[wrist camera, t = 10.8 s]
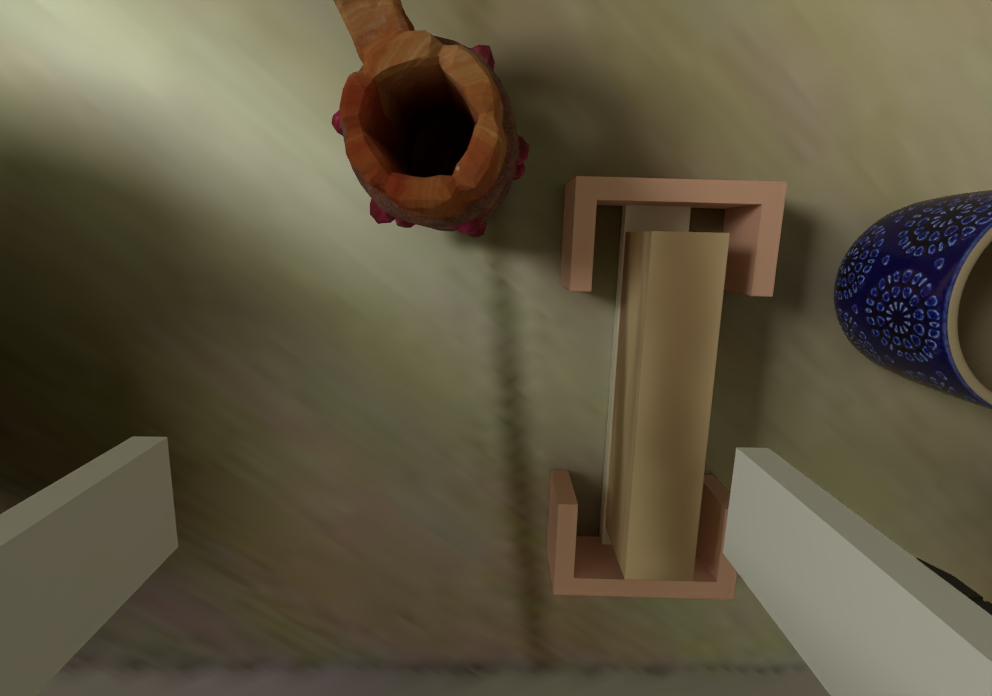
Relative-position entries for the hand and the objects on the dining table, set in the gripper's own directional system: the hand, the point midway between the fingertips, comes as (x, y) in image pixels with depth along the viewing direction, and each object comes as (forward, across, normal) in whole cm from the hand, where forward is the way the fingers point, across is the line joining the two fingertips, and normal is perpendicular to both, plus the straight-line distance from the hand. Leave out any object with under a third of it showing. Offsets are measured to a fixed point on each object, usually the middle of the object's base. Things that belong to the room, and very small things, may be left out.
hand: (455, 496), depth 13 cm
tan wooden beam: (+23, +12, -4) cm, 26 cm away
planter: (+23, +27, +4) cm, 36 cm away
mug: (+24, -3, +12) cm, 27 cm away
